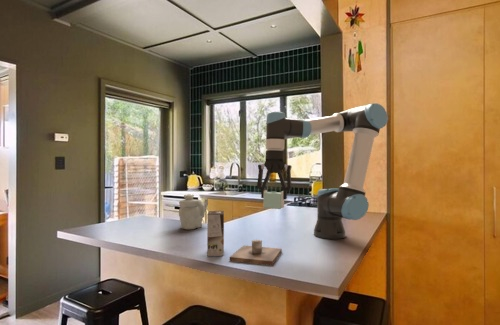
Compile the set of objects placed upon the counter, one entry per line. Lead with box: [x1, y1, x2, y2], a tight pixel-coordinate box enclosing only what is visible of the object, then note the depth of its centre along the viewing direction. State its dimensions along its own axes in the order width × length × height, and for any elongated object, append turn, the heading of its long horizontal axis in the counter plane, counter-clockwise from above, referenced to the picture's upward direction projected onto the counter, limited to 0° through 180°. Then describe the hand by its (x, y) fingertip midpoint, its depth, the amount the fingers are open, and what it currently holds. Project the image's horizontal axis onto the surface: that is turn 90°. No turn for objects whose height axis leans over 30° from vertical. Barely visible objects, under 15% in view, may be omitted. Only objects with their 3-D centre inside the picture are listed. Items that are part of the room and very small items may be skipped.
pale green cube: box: [263, 191, 282, 210], centre depth 121 cm, size 6×6×6 cm
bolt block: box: [229, 239, 283, 267], centre depth 114 cm, size 16×16×6 cm
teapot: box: [178, 193, 209, 230], centre depth 167 cm, size 16×15×19 cm
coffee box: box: [206, 210, 225, 257], centre depth 119 cm, size 9×6×16 cm
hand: (273, 206), depth 121 cm, fingers closed on pale green cube, 6 cm apart
